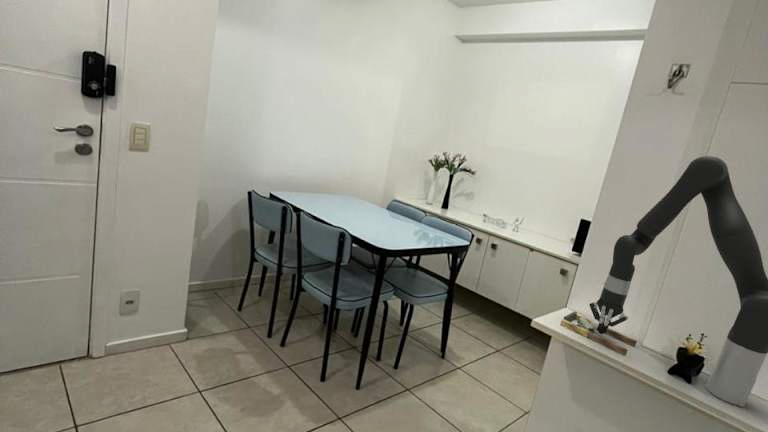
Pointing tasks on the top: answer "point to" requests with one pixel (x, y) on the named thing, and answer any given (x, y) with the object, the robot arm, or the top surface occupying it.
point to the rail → (574, 316)
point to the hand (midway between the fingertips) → (600, 333)
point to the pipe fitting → (587, 325)
